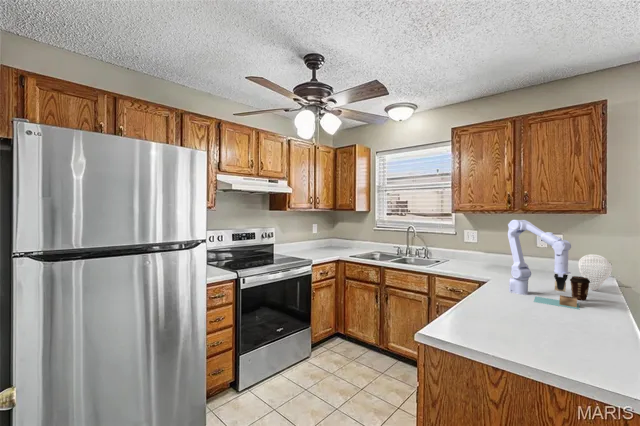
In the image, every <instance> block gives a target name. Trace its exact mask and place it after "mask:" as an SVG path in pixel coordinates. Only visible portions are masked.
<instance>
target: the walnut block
mask: <svg viewBox="0 0 640 426" xmlns="http://www.w3.org/2000/svg"><path fill="white" fill-rule="evenodd" d="M559 300H560V303H559V305H565V306H571V307H577V303H578V300H577V298H575V297H572V296H567V295H559Z"/></svg>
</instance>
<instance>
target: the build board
mask: <svg viewBox="0 0 640 426" xmlns="http://www.w3.org/2000/svg"><path fill="white" fill-rule="evenodd" d="M533 303H537V304H543V305H550V306H555V307H561V308H562V307H563V308H568V309H573V310H580V302H579V303H578V302H577V307H571V306H565V305H559V303H560V299H553V298H547V297H543V296H534V299H533Z"/></svg>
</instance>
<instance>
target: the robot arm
mask: <svg viewBox="0 0 640 426" xmlns="http://www.w3.org/2000/svg"><path fill="white" fill-rule="evenodd" d="M507 227H508V231H507V238H508V242H509V247H510V252H511V256H512V261H513V264H512V265H511V271H510V272H511V273H510V274H511V276H512V277H510V278H509V284H508V285H509V286H508V292H509V293H511V294H512V293H513V294H517V295H523V296H526V295H529V294H528V293H529V279H530V278H531V276H532V271H531V269H530V267H529V265H528V264H527V263H526V262H525V259H524V254H523V249H522V246H521V241H520V236H521V234H523V233H524V232H525V231H529V232H530V233H532V234H534V235H536V236H538V237H540V240H541V241H542V242H544V243H545V244H547V245H548V246H550V247H552V249H553V251H554V265H553V266H554V269H553V273H554V275H553V277H554V279H555V281H556V282H557V288H558V289H559V290H563V288H564V284H565V282H566V281H567V280H568V277H569V275H570V274H571V273H572V271H569V251H570V250H571V248H572V245H571V242H570V241H569V240H567V239H562V237H558V236H556V235H555V234H554V233H553V232H552V231H551V232H549V231H547V232H545V231H543V230H542V229H541V228H539V227H537V226H536V225H534V224H533V223H532V222H531V221H528V220H527V219H512V220H510V221H509V222H508V223H507Z"/></svg>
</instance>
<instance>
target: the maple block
mask: <svg viewBox="0 0 640 426" xmlns="http://www.w3.org/2000/svg"><path fill="white" fill-rule="evenodd" d="M566 284H567V282H566V281H565V284H564V288H563V290H559V289H558V288H557V282H556V280H554V291H556V292H557V291H558V292H563V293H566V292H567V291H566V290H567V289H566V286H567V285H566Z"/></svg>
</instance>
